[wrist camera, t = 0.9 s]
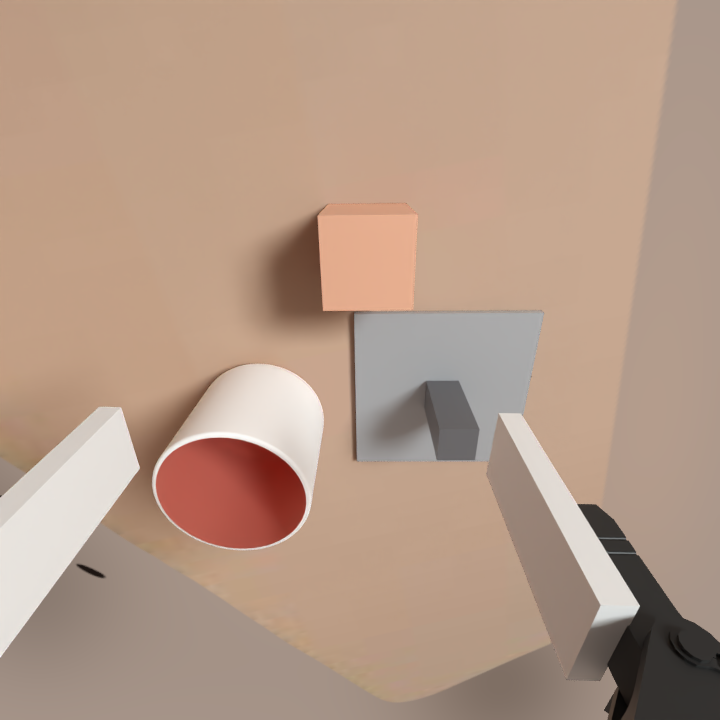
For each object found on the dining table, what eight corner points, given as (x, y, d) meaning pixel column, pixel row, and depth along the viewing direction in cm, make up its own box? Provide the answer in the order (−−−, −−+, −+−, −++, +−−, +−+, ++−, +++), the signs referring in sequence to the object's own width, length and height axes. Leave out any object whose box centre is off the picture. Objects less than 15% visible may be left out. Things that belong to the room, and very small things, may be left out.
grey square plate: (354, 311, 30) (351, 351, 24) (541, 310, 30) (588, 349, 23) (357, 457, 36) (355, 519, 30) (511, 457, 36) (542, 520, 29)
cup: (334, 369, 32) (322, 448, 23) (316, 463, 36) (300, 560, 27) (209, 346, 31) (147, 420, 22) (206, 445, 36) (153, 539, 27)
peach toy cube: (328, 203, 26) (317, 215, 21) (406, 203, 26) (417, 214, 20) (331, 280, 29) (322, 310, 23) (403, 280, 29) (412, 310, 23)
